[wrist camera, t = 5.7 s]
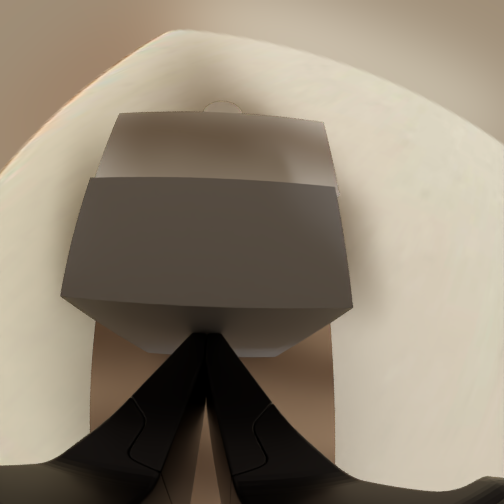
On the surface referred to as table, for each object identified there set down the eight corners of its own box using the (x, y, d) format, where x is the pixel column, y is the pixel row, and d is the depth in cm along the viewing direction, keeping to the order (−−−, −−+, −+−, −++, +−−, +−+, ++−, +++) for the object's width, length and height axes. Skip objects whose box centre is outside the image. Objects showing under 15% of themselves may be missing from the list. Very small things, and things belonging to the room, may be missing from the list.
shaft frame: (325, 522, 12) (389, 582, 5) (104, 517, 10) (44, 574, 3) (310, 201, 20) (349, 113, 13) (126, 193, 19) (96, 102, 12)
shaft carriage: (274, 357, 14) (353, 307, 6) (147, 352, 14) (60, 296, 5) (266, 147, 20) (293, 25, 12) (175, 143, 19) (165, 19, 11)
